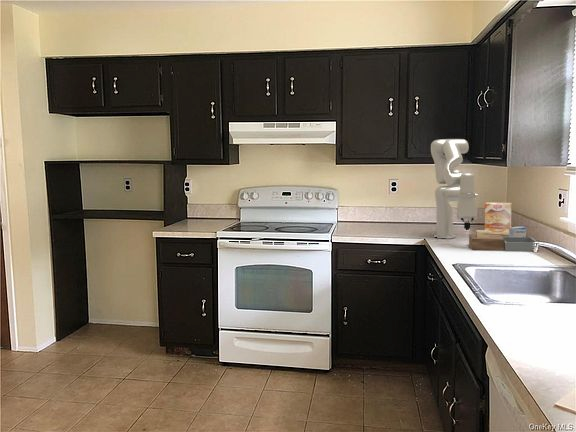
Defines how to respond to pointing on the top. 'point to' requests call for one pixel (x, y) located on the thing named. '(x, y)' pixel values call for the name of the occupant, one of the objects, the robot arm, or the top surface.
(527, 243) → the bin
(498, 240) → the walnut riser
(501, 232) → the coffeecake box
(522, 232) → the medicine box
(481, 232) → the birch tile
